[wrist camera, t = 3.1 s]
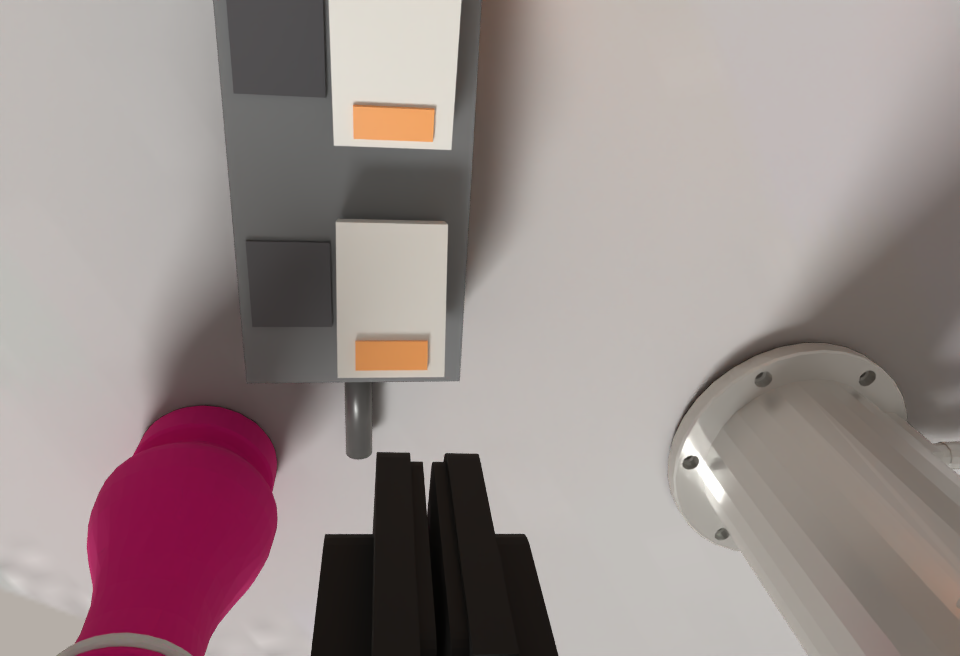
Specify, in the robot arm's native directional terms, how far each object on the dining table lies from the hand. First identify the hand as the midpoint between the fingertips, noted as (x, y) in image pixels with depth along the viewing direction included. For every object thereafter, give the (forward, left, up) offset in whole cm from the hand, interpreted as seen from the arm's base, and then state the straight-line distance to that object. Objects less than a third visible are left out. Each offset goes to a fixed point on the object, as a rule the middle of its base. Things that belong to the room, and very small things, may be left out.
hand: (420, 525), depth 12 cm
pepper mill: (+9, +13, -20) cm, 25 cm away
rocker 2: (0, +2, -14) cm, 14 cm away
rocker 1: (0, -6, -14) cm, 15 cm away
